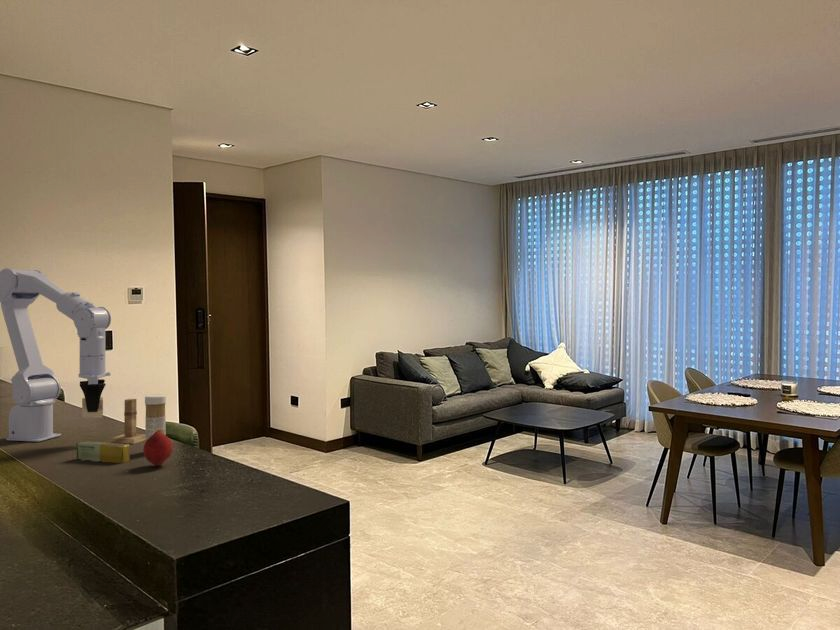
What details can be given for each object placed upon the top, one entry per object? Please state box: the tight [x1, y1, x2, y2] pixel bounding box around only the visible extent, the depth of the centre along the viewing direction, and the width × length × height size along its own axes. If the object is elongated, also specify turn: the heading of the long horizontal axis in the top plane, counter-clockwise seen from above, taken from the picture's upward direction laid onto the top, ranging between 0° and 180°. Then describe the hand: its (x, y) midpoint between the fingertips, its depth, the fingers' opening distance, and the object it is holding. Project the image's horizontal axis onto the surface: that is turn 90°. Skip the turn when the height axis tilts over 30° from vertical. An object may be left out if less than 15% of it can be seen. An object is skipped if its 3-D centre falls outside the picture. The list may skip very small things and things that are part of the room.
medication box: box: [76, 440, 131, 464], centre depth 140 cm, size 12×3×4 cm, turn 78°
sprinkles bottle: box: [144, 393, 167, 442], centre depth 148 cm, size 5×5×14 cm
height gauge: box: [111, 398, 146, 445], centre depth 160 cm, size 6×6×11 cm
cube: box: [81, 396, 104, 420], centre depth 156 cm, size 4×4×4 cm
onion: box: [143, 429, 174, 467], centre depth 135 cm, size 6×6×8 cm
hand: (92, 410), depth 156 cm, fingers closed on cube, 4 cm apart
